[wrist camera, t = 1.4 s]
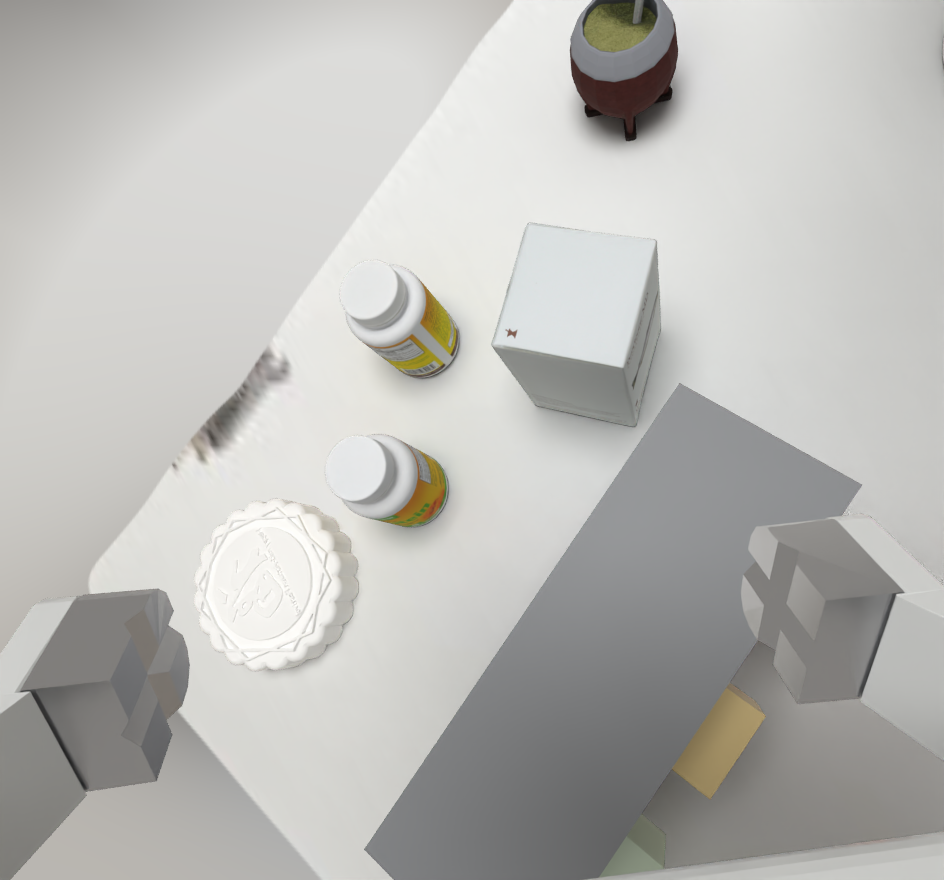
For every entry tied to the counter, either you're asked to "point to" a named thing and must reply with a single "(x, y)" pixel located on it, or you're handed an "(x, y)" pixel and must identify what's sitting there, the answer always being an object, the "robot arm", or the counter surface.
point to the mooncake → (275, 585)
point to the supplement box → (582, 321)
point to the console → (608, 659)
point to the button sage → (639, 850)
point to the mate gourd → (623, 57)
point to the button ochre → (719, 741)
